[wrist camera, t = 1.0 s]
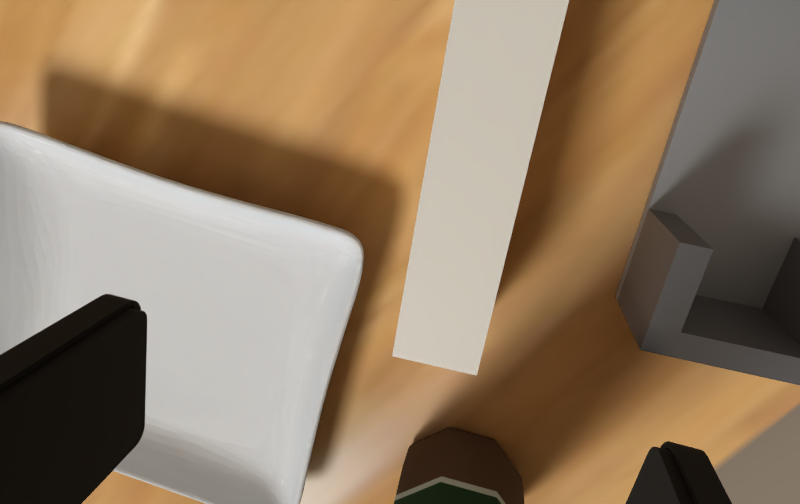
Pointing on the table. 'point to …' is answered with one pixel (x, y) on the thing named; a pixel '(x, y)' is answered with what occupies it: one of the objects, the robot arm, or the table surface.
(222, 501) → the salad plate
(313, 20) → the table surface
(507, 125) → the beige rectangular block
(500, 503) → the beer bottle
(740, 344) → the endcap jig
